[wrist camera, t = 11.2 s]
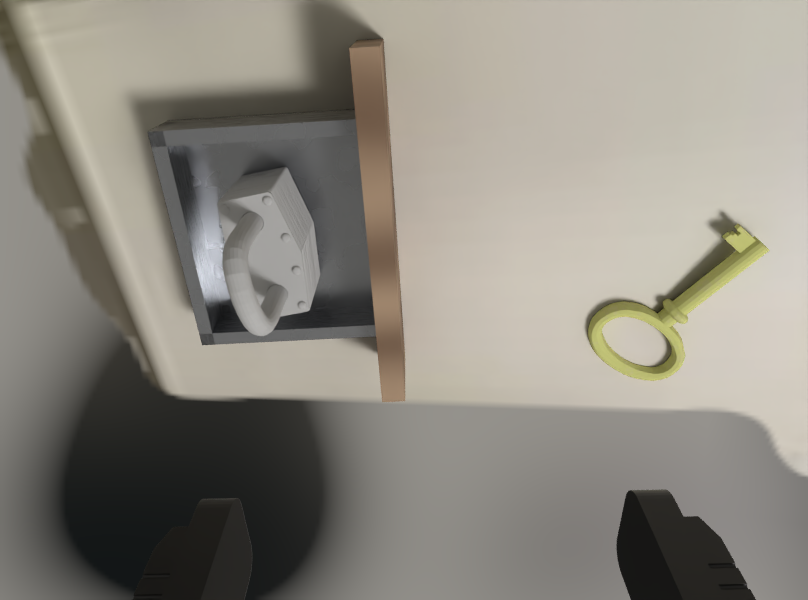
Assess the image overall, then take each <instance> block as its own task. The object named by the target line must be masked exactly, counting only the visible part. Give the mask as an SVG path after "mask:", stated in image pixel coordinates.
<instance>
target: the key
mask: <svg viewBox="0 0 808 600" xmlns="http://www.w3.org/2000/svg"><path fill="white" fill-rule="evenodd" d="M734 227H735V228H736V229H737V230H738V231H737V232H736V233H734V232H733V231H731V232H730V233H729V232H727V233H726V234H724V235H723V236H722V237H723V238H724V239H725V240H726V241H727V242H728V243H729V244H730V245H732V246H733V247H734V248H735V249H736V251H735V252H734V253H733V254H731V255H730V256H729V257H728V258H726V259H725V260H724V261H723V262H721V263H720V264H719V265H717V266H716V267H715V268H714V269H712V270H711V271H710V272H709V273H707V274H706V275H705V276H704V277H702V278H701V279H700V280H699V281H697V282H696V283H695V284H694V285H692V286H691V287H690V288H689V289H687V290H686V291H685V292H684V293H682V294H681V295H680V296H678V297H677V298H676V299H675V300H673V301H672V300H670V299H666V300H664V301H663V306H664V308H663V309H662V310H661V311H660V312H658V313H656V312H655V311H653V310H651V309H650V308H648V307H646V306H644V305H641V304H638V303H633V302H626V301H622V302H615V303H612V304H609V305H607V306H605V307H603V308H602V309H601V310H599V311H598V312H597V313H596V314H595V315H594V316H593V317H592V320H591V322H590V324H589V328H588V337H589V341H590V344H591V346H592V348H593V350H594V352H595V353H596V354H597V355H598V356H599V357H600V358H601V359H602V360H603V361H604V362H605V363H606V364H607V365H609V366H611V367H612V368H614V369H615V370H617V371H619V372H621V373H622V374H624V375H627V376H629V377H633V378H636V379H642V380H650V381H654V380H661V379H664V378H667V377H669V376H671V375H673V374H674V373H675V372H676V371H678V370H679V369H680V367H681V366H682V364H683V362H684V358H685V352H684V347H683V343H682V339H681V337H680V336H679V334H678V332H677V331H676V330H675V329H674V328H673V326H672V325H674V324H675V323H676V322H679V323H682V324H685V323H686V322H687V321H688V317H687V314H688V313H689V312H690V311H692V310H693V309H694V308H696V307H697V306H698V305H700V304H701V303H702V302H703V301H705V300H706V299H707V298H709V297H710V296H711V295H712V294H714V293H715V292H716V291H718V290H719V289H720V288H722V287H723V286H724V285H725V284H727V283H728V282H729V281H731V280H732V279H733V278H734V277H736V276H737V275H738V274H740V273H741V272H742V271H744V270H745V269H746V268H747V267H749V266H750V265H751V264H753V263H754V262H755V261H757V260H758V259H759V258H760V257H762V256H763V255H764V254H766V253H767V252H768V251H769V249H768V248H767V247H766V246H765V245H764V244H763V243H762V242H760V241H759V240H758V239H757V238H756V237H755V236H754V237H752V236H751V235H750V234H749V233H748V232H747V231H746V230H744V229H743V228H742V227H741V226H740V225H739V224H737V225H735V226H734ZM618 317H631V318H636V319H639V320H642V321H645V322H646V323H648V324H650V325H652V326H653V327H655V328H656V329H658V330H659V331H660V332H662V333H663V334H664V336H665V337H666V338H667V339H668V341H669V343H670V345H671V348H672V351H671V355H670V357H669V358H668V360H667V361H666V362H665V363H664V364H662V365H660V366H657V367H646V366H640V365H637V364H633V363H631V362H629V361H627V360H625V359H623V358H622V357H620V356H619V355H618V354H616V353H615V352H614V351H613V350H612V349H611V348H610V347H609V345H608V344H607V343H606V341H605V339H604V336H603V334H602V328H603V326H604V325H605V324H606V323H607V322H609V321H610V320H612V319H615V318H618Z"/></svg>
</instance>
